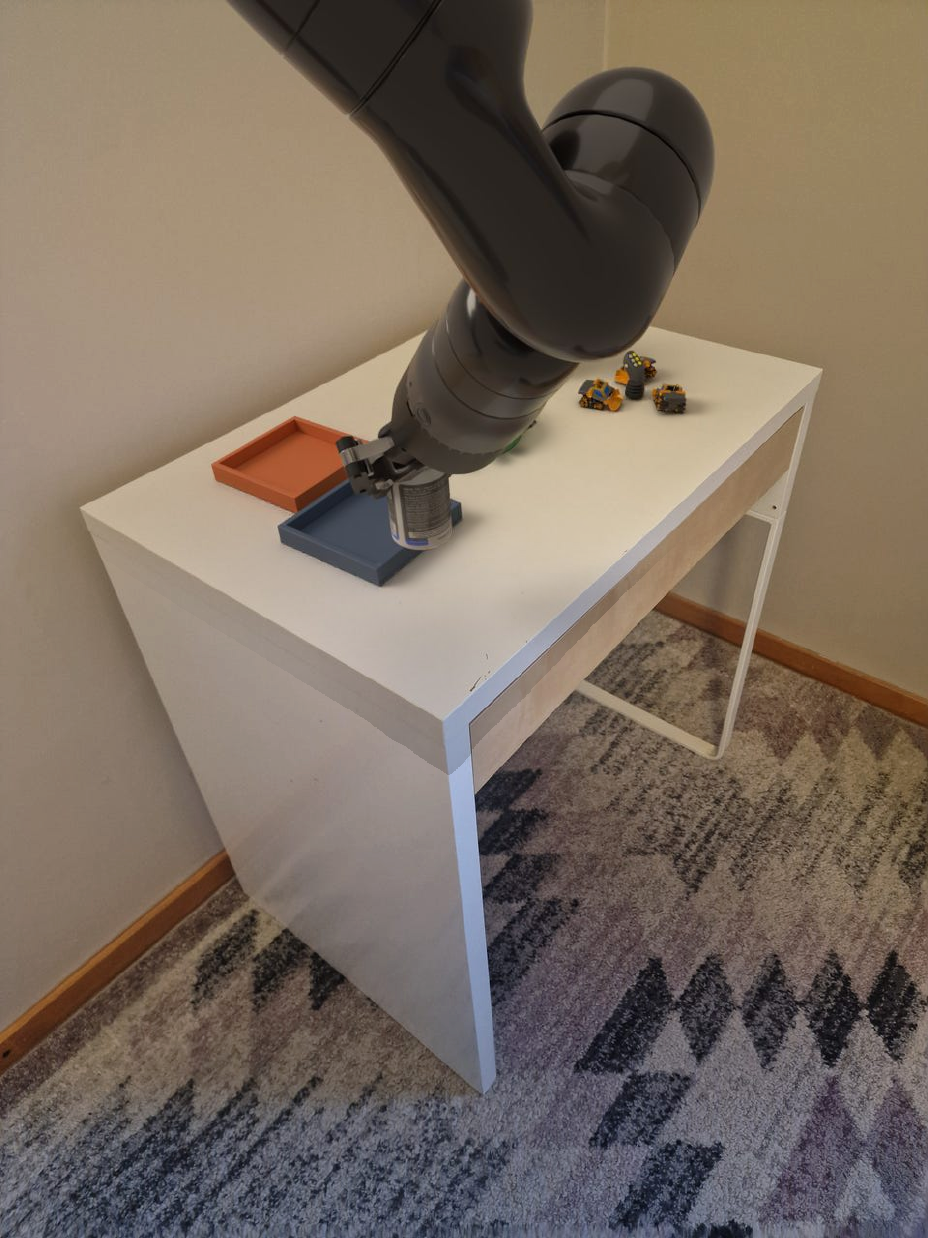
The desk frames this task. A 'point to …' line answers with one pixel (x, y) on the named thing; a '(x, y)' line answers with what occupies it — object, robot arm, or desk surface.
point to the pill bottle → (421, 510)
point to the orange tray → (286, 464)
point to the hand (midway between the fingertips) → (407, 476)
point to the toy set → (632, 387)
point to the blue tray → (351, 533)
